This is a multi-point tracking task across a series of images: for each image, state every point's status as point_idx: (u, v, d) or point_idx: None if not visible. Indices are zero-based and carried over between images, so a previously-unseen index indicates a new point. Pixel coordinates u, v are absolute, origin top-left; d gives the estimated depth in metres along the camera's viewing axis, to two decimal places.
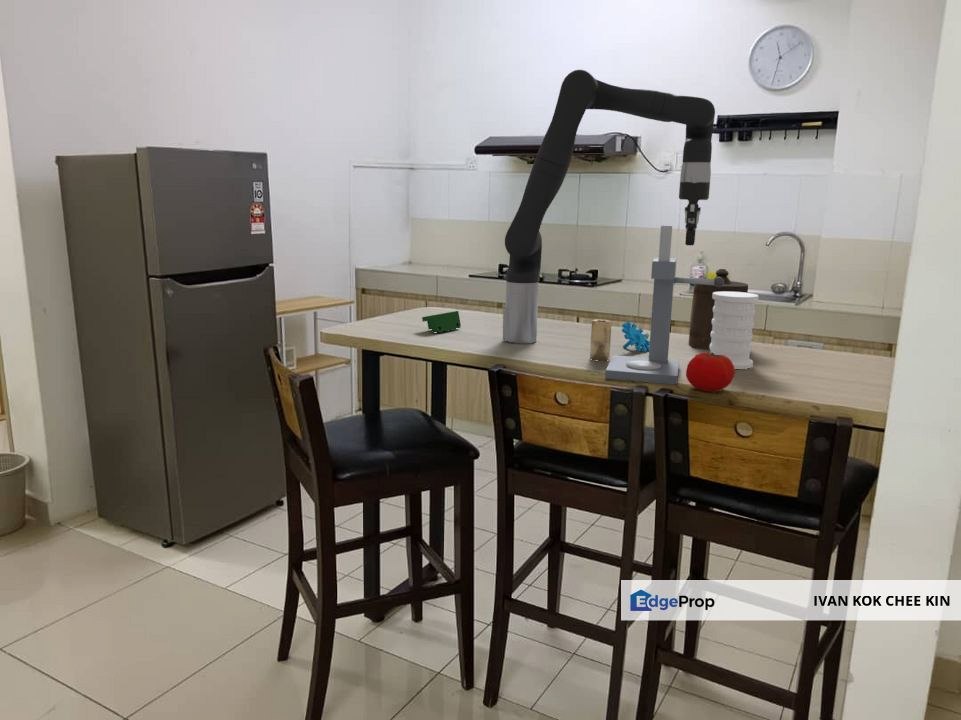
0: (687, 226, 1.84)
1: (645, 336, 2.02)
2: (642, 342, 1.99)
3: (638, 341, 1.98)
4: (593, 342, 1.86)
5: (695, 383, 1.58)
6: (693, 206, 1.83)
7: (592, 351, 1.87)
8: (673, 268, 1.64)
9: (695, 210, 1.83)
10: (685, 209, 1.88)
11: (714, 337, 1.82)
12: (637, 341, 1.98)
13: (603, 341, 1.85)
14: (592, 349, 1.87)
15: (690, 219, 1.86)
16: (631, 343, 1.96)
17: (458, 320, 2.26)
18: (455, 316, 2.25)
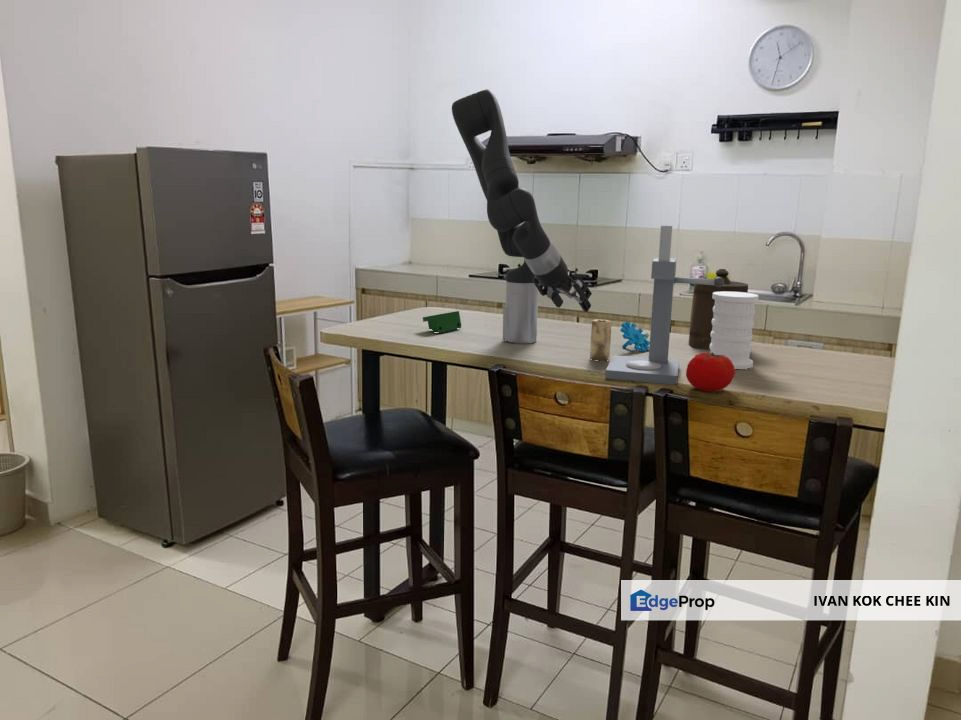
0: (587, 300, 1.69)
1: (644, 336, 2.02)
2: (641, 342, 1.99)
3: (637, 341, 1.98)
4: (593, 342, 1.86)
5: (695, 383, 1.58)
6: (580, 282, 1.66)
7: (592, 351, 1.87)
8: (673, 268, 1.64)
9: (583, 283, 1.67)
10: (561, 289, 1.70)
11: (714, 337, 1.82)
12: (636, 341, 1.98)
13: (604, 341, 1.85)
14: (592, 349, 1.87)
15: (575, 292, 1.70)
16: (629, 343, 1.96)
17: (459, 320, 2.25)
18: (456, 316, 2.25)
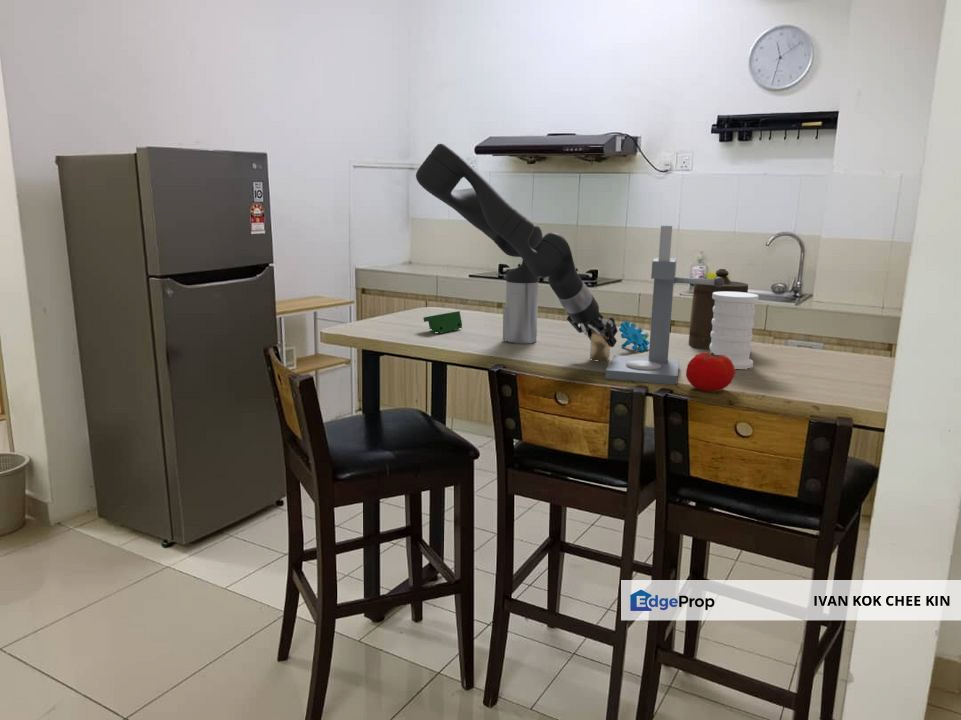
0: (613, 337, 1.82)
1: (644, 336, 2.03)
2: (640, 342, 2.00)
3: (635, 340, 1.99)
4: (593, 342, 1.86)
5: (695, 383, 1.58)
6: (612, 322, 1.78)
7: (592, 351, 1.87)
8: (673, 268, 1.64)
9: (614, 323, 1.79)
10: (592, 326, 1.81)
11: (714, 337, 1.82)
12: (634, 340, 1.99)
13: (603, 341, 1.85)
14: (592, 349, 1.87)
15: (603, 329, 1.82)
16: (627, 342, 1.97)
17: (459, 320, 2.25)
18: (457, 316, 2.24)
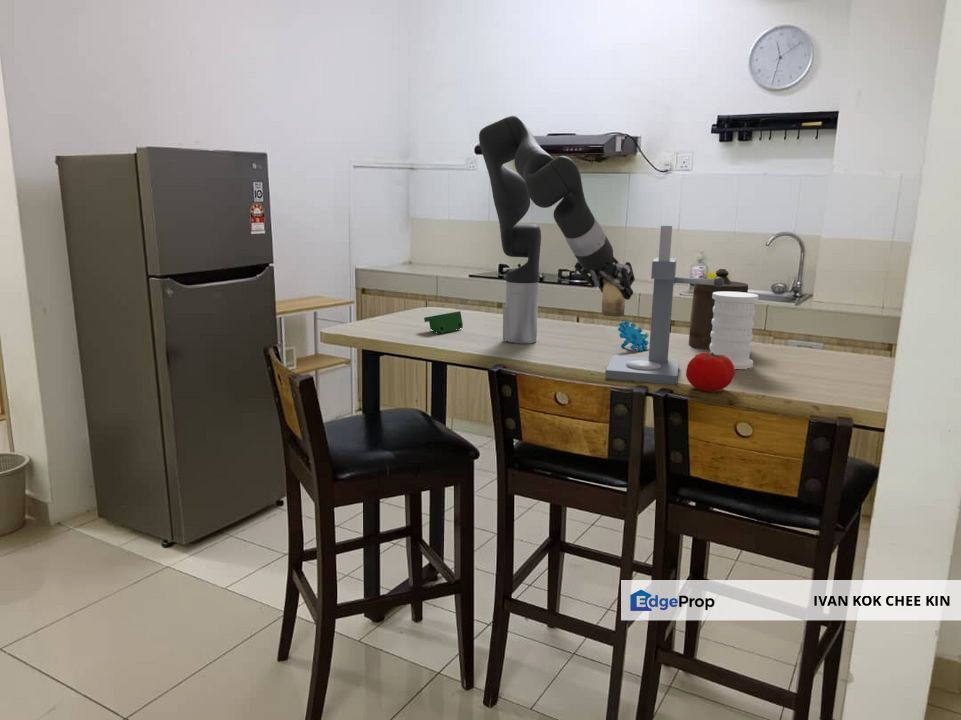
0: (630, 286, 1.54)
1: (643, 336, 2.03)
2: (638, 341, 2.00)
3: (634, 340, 1.99)
4: (605, 293, 1.58)
5: (695, 383, 1.58)
6: (628, 268, 1.50)
7: (604, 304, 1.59)
8: (673, 268, 1.64)
9: (631, 269, 1.51)
10: (605, 273, 1.53)
11: (714, 337, 1.82)
12: (633, 340, 1.99)
13: (618, 292, 1.57)
14: (604, 302, 1.59)
15: (618, 277, 1.55)
16: (625, 342, 1.97)
17: (460, 320, 2.25)
18: (457, 316, 2.24)
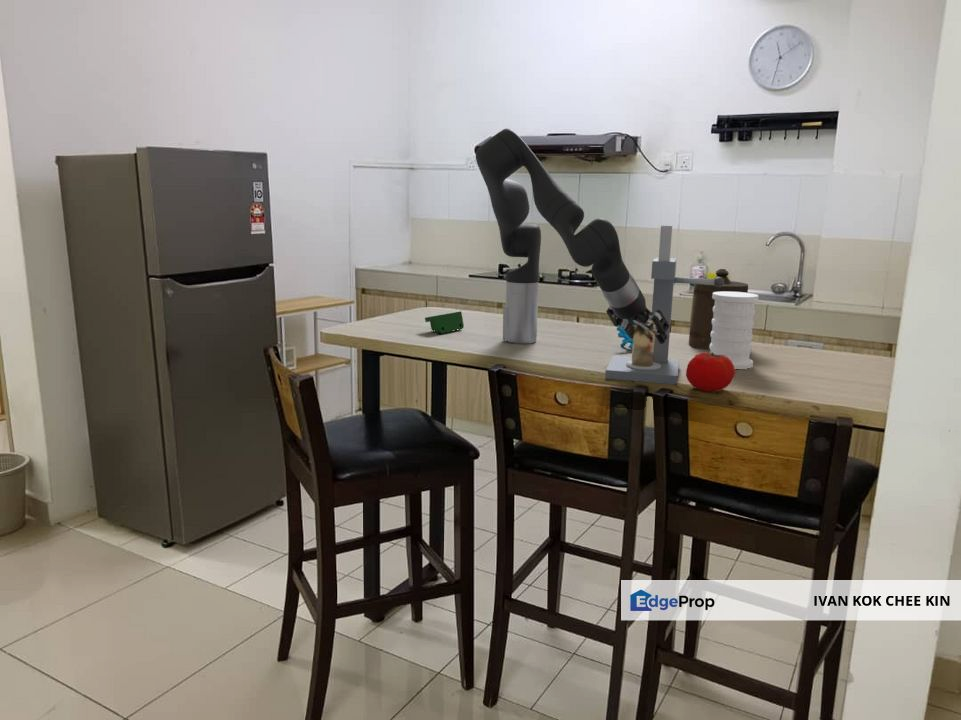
0: (665, 332, 1.64)
1: None
2: None
3: (632, 340, 2.00)
4: (635, 345, 1.70)
5: (695, 383, 1.58)
6: (659, 315, 1.61)
7: (634, 355, 1.71)
8: (673, 268, 1.64)
9: (662, 315, 1.62)
10: (638, 321, 1.64)
11: (714, 337, 1.82)
12: (631, 340, 1.99)
13: (647, 344, 1.69)
14: (634, 353, 1.71)
15: (652, 324, 1.65)
16: (623, 341, 1.98)
17: (461, 321, 2.25)
18: (458, 317, 2.24)
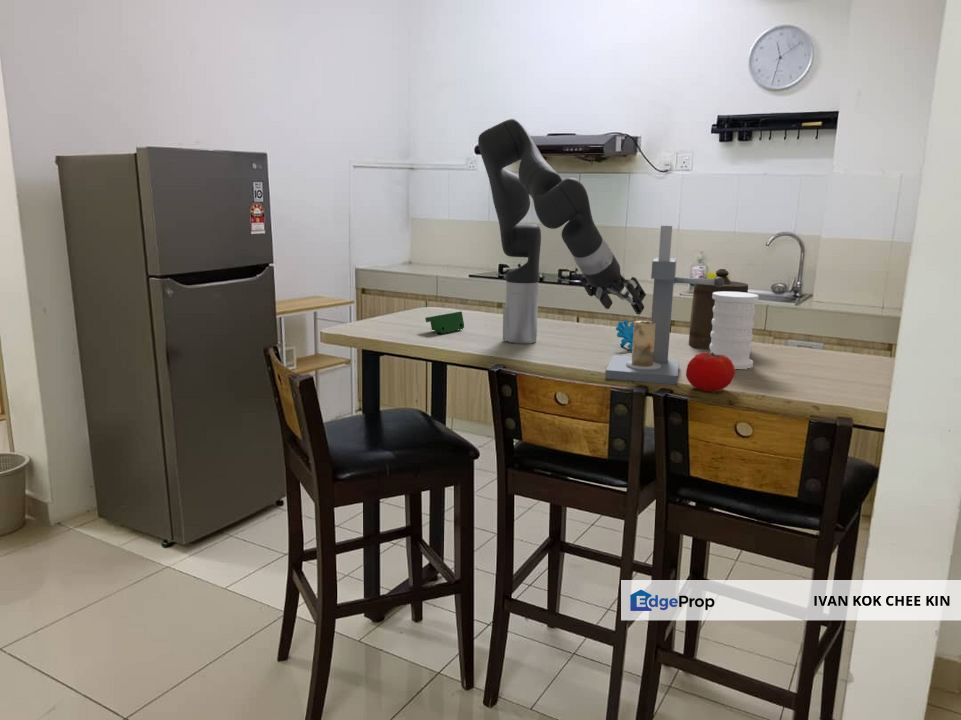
0: (641, 301, 1.55)
1: None
2: None
3: (632, 340, 2.00)
4: (635, 345, 1.70)
5: (695, 383, 1.58)
6: (634, 282, 1.52)
7: (634, 355, 1.71)
8: (673, 268, 1.64)
9: (637, 283, 1.53)
10: (612, 289, 1.55)
11: (714, 337, 1.82)
12: (630, 340, 2.00)
13: (647, 344, 1.69)
14: (634, 353, 1.71)
15: (627, 293, 1.56)
16: (622, 341, 1.98)
17: (461, 321, 2.25)
18: (459, 317, 2.24)
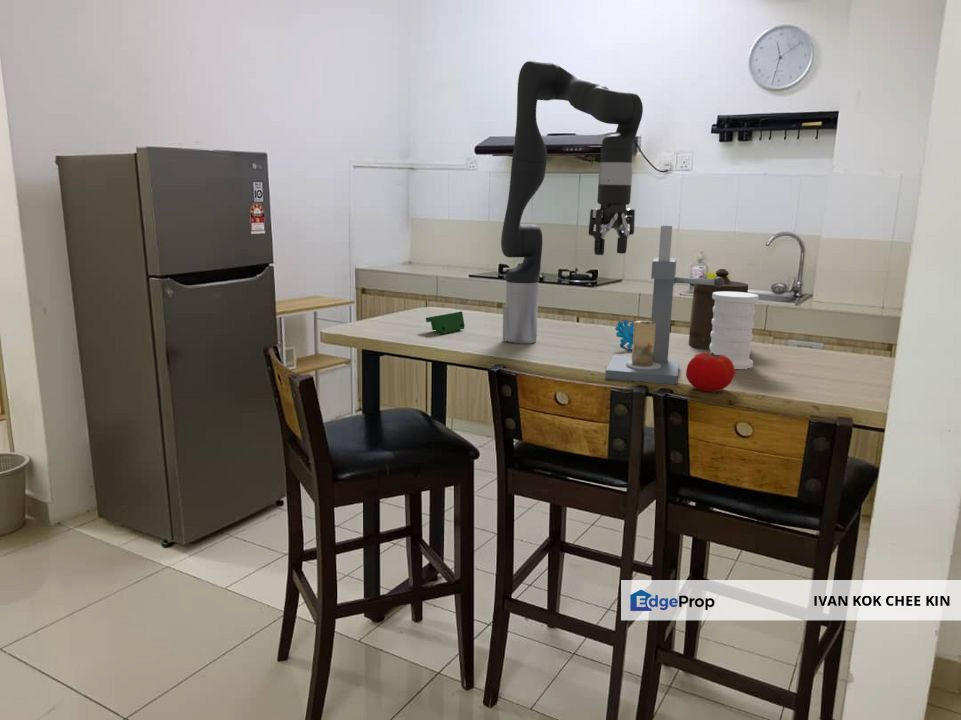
0: None
1: None
2: None
3: (631, 339, 2.00)
4: (635, 345, 1.70)
5: (695, 383, 1.58)
6: None
7: (634, 355, 1.71)
8: (673, 268, 1.64)
9: None
10: (624, 215, 1.69)
11: (714, 337, 1.82)
12: (630, 339, 2.00)
13: (648, 344, 1.69)
14: (634, 353, 1.71)
15: None
16: (622, 341, 1.99)
17: (462, 321, 2.25)
18: (459, 317, 2.24)
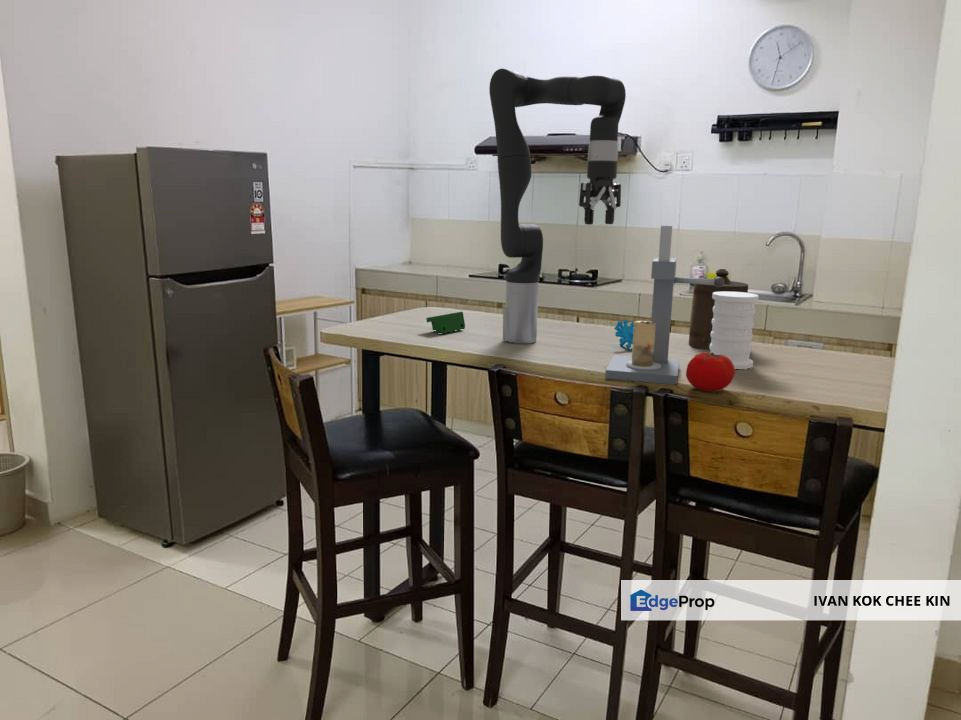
0: None
1: None
2: None
3: (630, 339, 2.00)
4: (635, 345, 1.70)
5: (695, 383, 1.58)
6: None
7: (634, 355, 1.71)
8: (673, 268, 1.64)
9: None
10: (611, 189, 1.87)
11: (714, 337, 1.82)
12: (629, 339, 2.00)
13: (647, 344, 1.69)
14: (634, 353, 1.71)
15: None
16: (620, 341, 1.99)
17: (462, 321, 2.24)
18: (460, 317, 2.24)
